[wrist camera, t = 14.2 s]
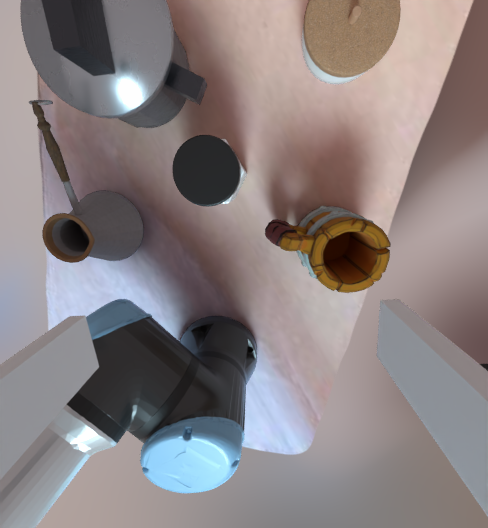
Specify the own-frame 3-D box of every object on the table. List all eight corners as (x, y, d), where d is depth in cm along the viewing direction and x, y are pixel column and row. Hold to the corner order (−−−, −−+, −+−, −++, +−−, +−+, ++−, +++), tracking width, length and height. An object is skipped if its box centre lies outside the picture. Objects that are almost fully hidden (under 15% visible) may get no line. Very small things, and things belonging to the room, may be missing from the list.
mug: (346, 275, 47) (385, 315, 33) (256, 251, 47) (255, 281, 32) (370, 215, 44) (425, 230, 29) (273, 189, 43) (281, 191, 29)
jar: (208, 135, 42) (189, 116, 30) (254, 161, 42) (253, 152, 31) (185, 188, 44) (159, 190, 33) (229, 211, 45) (219, 221, 33)
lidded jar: (300, 102, 40) (312, 78, 31) (290, 16, 37) (301, -39, 28) (374, 86, 39) (409, 57, 30) (370, -4, 36) (408, -67, 27)
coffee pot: (151, 258, 48) (105, 290, 34) (88, 254, 48) (16, 283, 34) (145, 127, 42) (86, 97, 27) (73, 123, 42) (-22, 91, 28)
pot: (196, 156, 43) (176, 147, 32) (86, 102, 41) (27, 73, 31) (232, 62, 39) (223, 16, 28) (112, -2, 37) (55, -75, 27)
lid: (186, 112, 32) (163, 88, 24) (60, 127, 33) (-2, 109, 25) (163, -62, 27) (125, -161, 20) (17, -38, 29) (-74, -122, 21)
